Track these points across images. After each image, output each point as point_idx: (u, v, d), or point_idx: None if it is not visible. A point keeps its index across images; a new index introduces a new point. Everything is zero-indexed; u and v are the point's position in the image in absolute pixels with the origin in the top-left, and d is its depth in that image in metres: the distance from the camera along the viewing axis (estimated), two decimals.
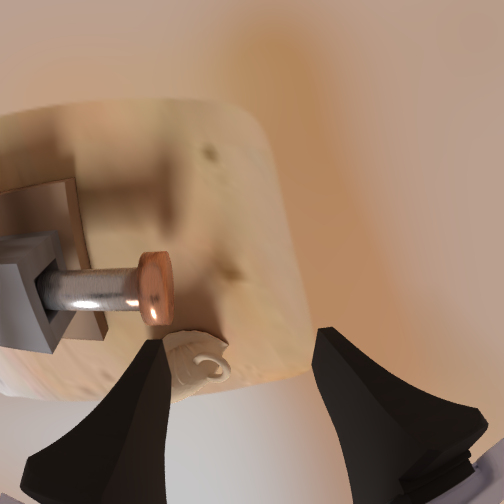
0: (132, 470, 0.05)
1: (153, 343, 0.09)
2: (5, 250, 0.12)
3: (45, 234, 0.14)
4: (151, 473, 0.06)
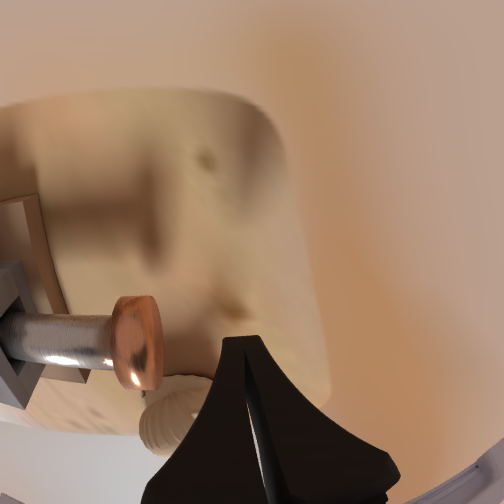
0: None
1: (234, 341, 0.10)
2: None
3: (6, 266, 0.10)
4: None
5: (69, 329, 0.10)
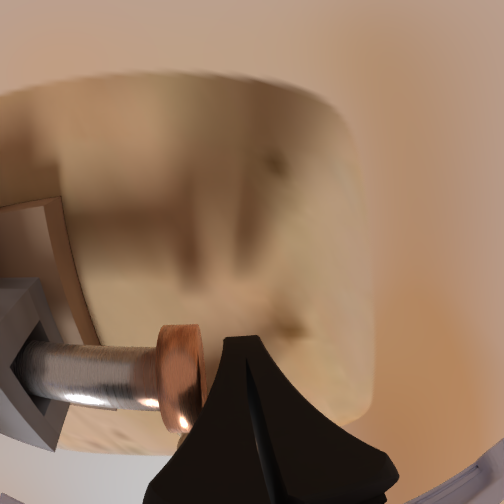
0: None
1: (235, 341, 0.10)
2: None
3: (21, 285, 0.09)
4: None
5: (97, 366, 0.08)
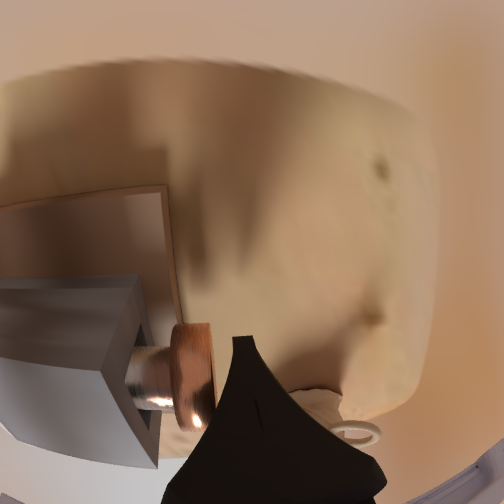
0: None
1: (245, 340, 0.10)
2: (47, 319, 0.07)
3: (119, 283, 0.09)
4: None
5: None
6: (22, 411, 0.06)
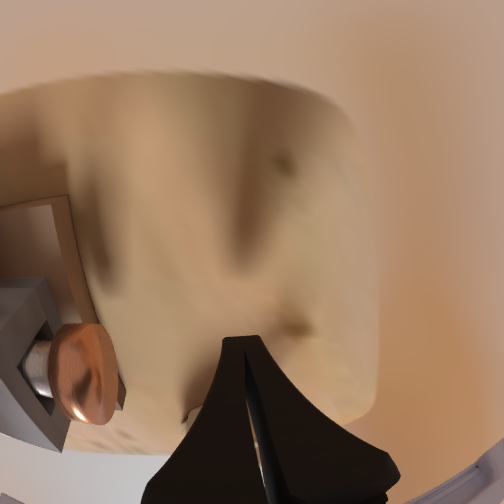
0: None
1: (234, 341, 0.10)
2: None
3: (28, 284, 0.09)
4: None
5: None
6: None
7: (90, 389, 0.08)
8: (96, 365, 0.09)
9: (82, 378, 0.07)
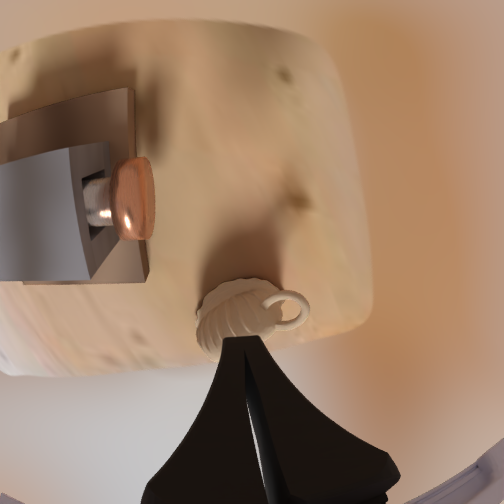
0: None
1: (234, 341, 0.10)
2: None
3: None
4: None
5: None
6: (5, 223, 0.10)
7: (141, 195, 0.12)
8: (146, 187, 0.13)
9: (139, 180, 0.12)
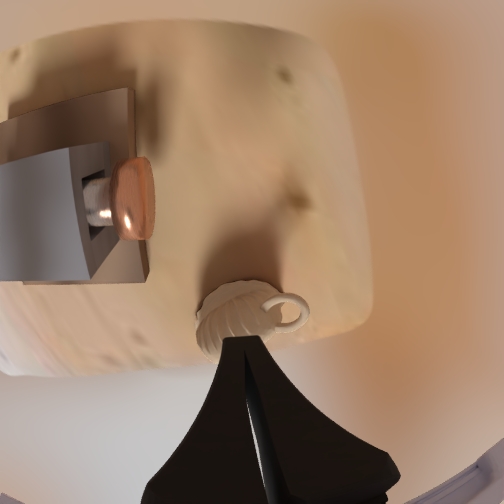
0: None
1: (234, 341, 0.10)
2: None
3: None
4: None
5: None
6: (5, 223, 0.10)
7: (141, 195, 0.12)
8: (146, 187, 0.13)
9: (139, 180, 0.12)
